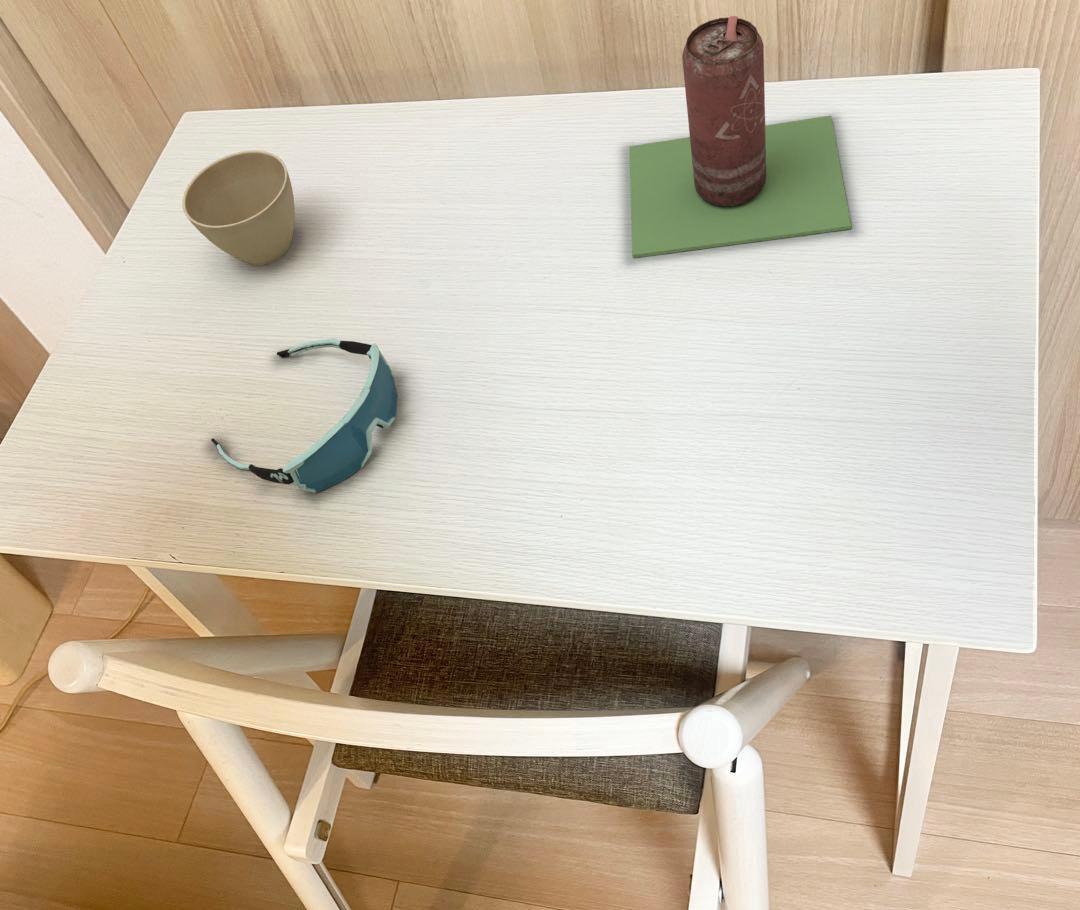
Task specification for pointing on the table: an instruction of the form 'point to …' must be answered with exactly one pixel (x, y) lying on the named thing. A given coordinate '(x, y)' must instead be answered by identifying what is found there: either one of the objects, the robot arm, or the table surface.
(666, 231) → the felt cloth
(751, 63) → the can
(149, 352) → the table surface
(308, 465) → the sunglasses
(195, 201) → the flower pot
